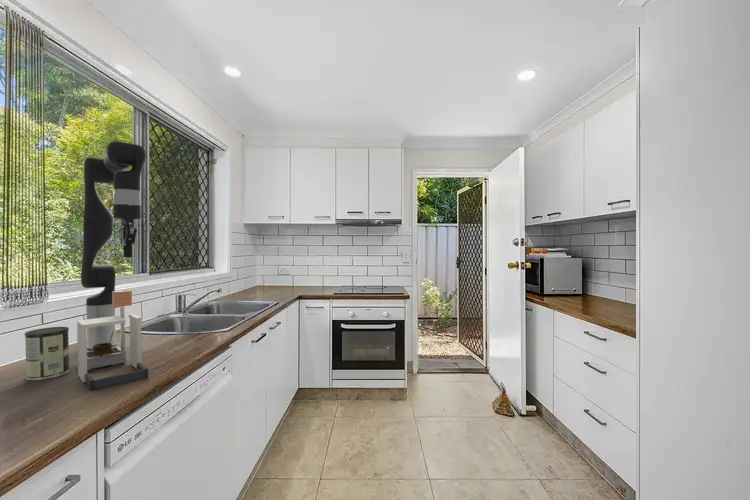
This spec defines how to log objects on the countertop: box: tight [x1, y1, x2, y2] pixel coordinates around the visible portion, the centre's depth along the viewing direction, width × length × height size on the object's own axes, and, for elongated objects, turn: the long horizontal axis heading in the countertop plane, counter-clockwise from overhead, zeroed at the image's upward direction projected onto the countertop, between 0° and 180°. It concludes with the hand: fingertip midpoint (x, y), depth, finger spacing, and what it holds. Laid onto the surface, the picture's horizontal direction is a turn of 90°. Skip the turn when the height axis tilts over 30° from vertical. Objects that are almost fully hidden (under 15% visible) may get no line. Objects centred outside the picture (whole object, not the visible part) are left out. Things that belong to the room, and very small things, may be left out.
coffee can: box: [24, 326, 70, 381], centre depth 114 cm, size 10×10×14 cm
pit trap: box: [84, 363, 149, 391], centre depth 109 cm, size 9×14×2 cm, turn 136°
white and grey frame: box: [76, 313, 143, 383], centre depth 115 cm, size 10×15×17 cm, turn 136°
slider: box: [87, 289, 133, 370], centre depth 124 cm, size 12×13×24 cm
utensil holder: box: [92, 329, 114, 368], centre depth 122 cm, size 6×6×12 cm
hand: (127, 257), depth 118 cm, fingers closed
